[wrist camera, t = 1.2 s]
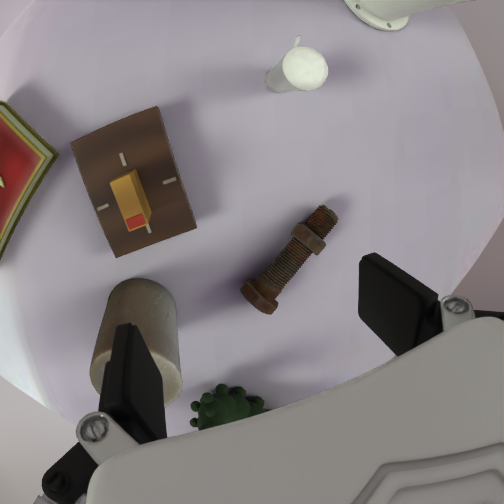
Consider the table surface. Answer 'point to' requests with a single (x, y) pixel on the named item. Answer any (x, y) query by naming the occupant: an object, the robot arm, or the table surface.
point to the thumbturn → (131, 199)
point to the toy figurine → (224, 407)
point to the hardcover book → (19, 168)
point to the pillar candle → (142, 331)
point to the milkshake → (298, 70)
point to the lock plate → (150, 174)
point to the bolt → (290, 260)
